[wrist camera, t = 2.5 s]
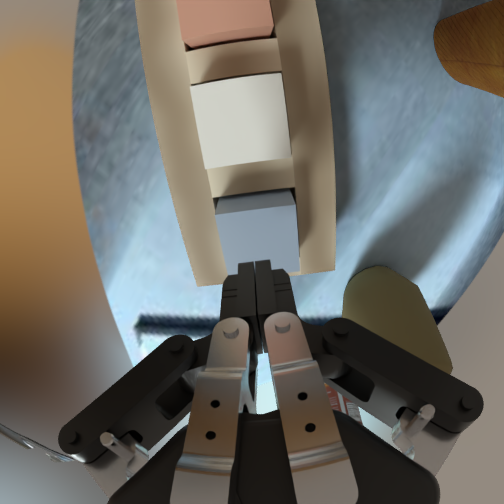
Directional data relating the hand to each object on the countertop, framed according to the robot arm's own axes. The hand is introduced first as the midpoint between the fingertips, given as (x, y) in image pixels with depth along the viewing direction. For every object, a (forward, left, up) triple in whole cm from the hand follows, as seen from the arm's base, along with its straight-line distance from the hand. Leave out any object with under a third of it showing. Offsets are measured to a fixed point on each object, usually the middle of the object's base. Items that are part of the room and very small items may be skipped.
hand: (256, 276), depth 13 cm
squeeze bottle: (-10, +10, -10) cm, 17 cm away
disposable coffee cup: (-19, -13, -10) cm, 25 cm away
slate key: (0, 0, -7) cm, 7 cm away
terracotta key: (0, -14, -7) cm, 15 cm away
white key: (0, -7, -7) cm, 9 cm away
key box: (0, -7, -9) cm, 11 cm away
